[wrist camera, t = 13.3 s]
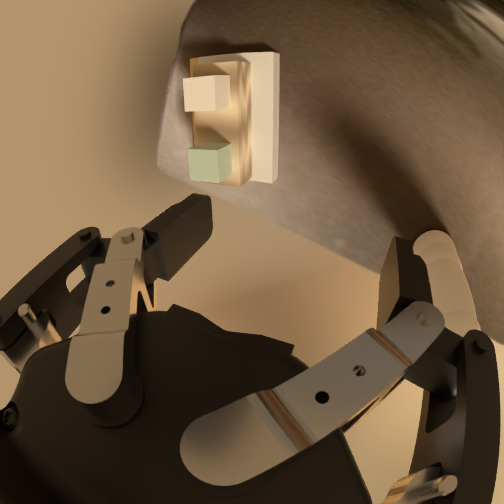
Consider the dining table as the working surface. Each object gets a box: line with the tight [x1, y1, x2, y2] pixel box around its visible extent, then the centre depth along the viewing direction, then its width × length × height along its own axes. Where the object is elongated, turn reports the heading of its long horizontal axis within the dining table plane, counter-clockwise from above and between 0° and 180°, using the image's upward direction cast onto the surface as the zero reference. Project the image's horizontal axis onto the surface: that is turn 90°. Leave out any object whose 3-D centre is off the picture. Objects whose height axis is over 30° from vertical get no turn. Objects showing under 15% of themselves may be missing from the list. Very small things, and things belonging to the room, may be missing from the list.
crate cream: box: [183, 75, 230, 112], centre depth 27 cm, size 4×4×4 cm
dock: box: [190, 52, 280, 183], centre depth 34 cm, size 18×12×3 cm, turn 1°
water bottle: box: [413, 230, 481, 337], centre depth 25 cm, size 7×7×25 cm
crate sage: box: [188, 142, 233, 183], centre depth 32 cm, size 4×4×4 cm
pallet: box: [192, 61, 252, 187], centre depth 32 cm, size 16×6×4 cm, turn 1°
